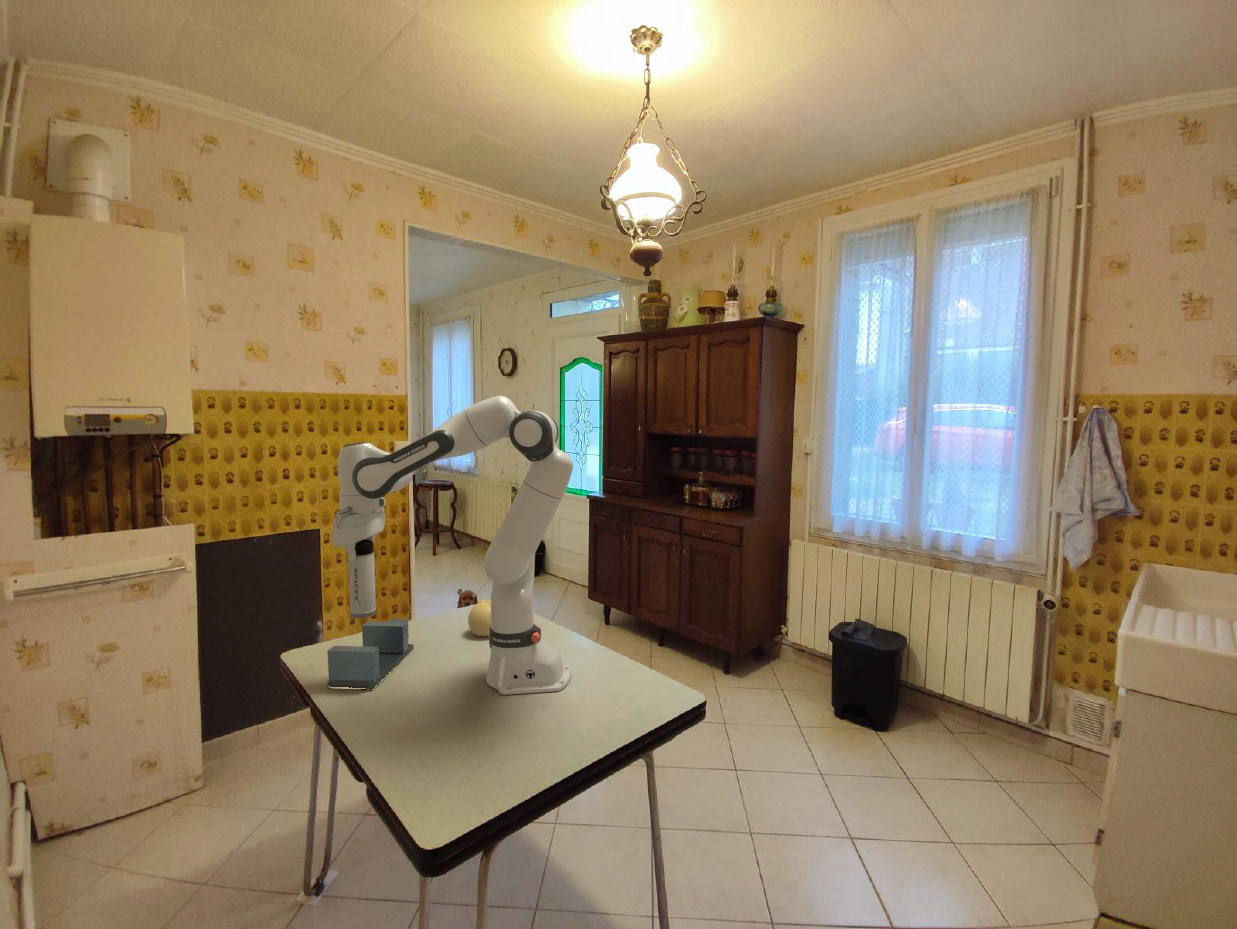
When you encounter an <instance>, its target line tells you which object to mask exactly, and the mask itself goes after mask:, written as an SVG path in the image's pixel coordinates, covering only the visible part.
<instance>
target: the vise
mask: <svg viewBox="0 0 1237 929" xmlns="http://www.w3.org/2000/svg"><path fill="white" fill-rule="evenodd" d="M414 648H415V647H414V643H413V644H412V643H411V644H410V643H408V649H407V650H406V651H405V652H404V653H387V652H379V647H363V645H361V646H359V645H358V646H354V645H350V646H349V645H332V647H330V648H329V649H328V650H327V652H326V653H327V670H328V681H327V687H328V686H330V687H349V688H351V687H352V688H366V689H374V688H375V686H376V685H378V684H379V682H381V680H382V679H384V678H385V677H386V675H388V674H389V672H391V671H392V670H393V668H395V667H396V666H397V665H398V664H399V663H400V662H401V661H402V660H403V659H404V658H405V657H406V656H407V655H408V654H409V653H410V652H411V651H412V650H413V649H414ZM414 650H415V649H414ZM384 680H385V679H384ZM381 683H382V682H381ZM379 685H380V684H379ZM379 685H378V686H379ZM375 689H376V688H375ZM375 689H374V690H375Z"/></svg>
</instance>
